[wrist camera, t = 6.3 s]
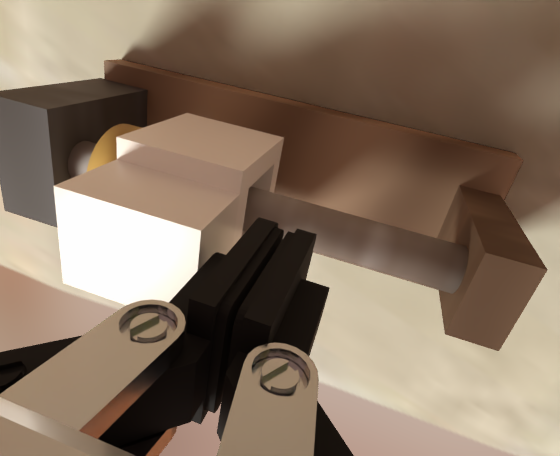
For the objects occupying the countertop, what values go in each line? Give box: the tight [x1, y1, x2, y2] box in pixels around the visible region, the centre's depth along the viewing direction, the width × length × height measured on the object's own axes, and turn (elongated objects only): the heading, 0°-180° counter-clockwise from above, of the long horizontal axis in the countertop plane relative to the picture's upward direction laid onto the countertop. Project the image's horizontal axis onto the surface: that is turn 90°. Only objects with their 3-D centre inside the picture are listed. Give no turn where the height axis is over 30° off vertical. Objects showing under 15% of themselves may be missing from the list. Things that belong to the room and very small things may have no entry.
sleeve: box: [53, 113, 284, 305], centre depth 13 cm, size 4×4×7 cm
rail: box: [0, 59, 547, 351], centre depth 16 cm, size 18×6×7 cm, turn 79°
